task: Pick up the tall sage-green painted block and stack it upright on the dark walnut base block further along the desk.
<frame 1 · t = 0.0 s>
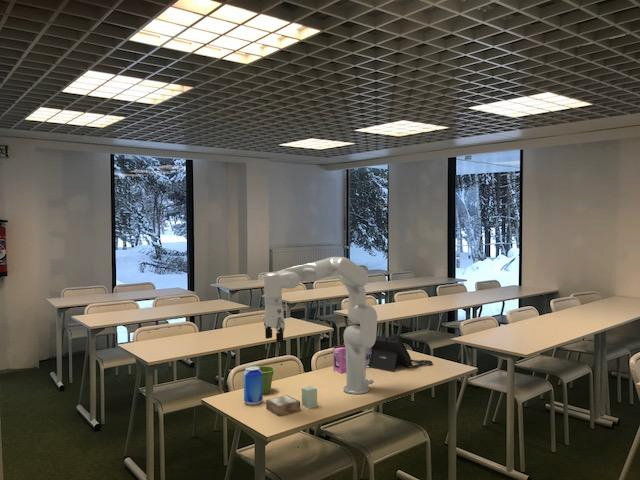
hand: (274, 340, 225), 31 cm above the table, fingers open, 9 cm apart
green block: (309, 405, 231), on the table
office phone: (400, 365, 294), on the table, touching gum box
gum box: (352, 368, 290), on the table, touching office phone
beer can: (253, 402, 237), on the table
plant pot: (263, 392, 252), on the table
base block: (283, 409, 226), on the table
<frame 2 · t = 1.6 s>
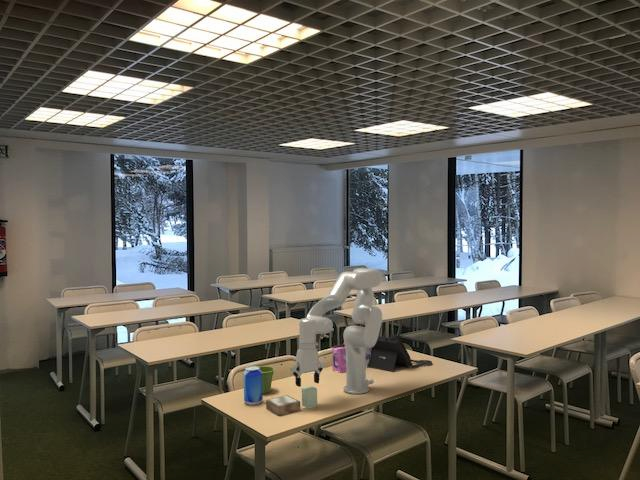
hand: (307, 384, 230), 10 cm above the table, fingers open, 9 cm apart
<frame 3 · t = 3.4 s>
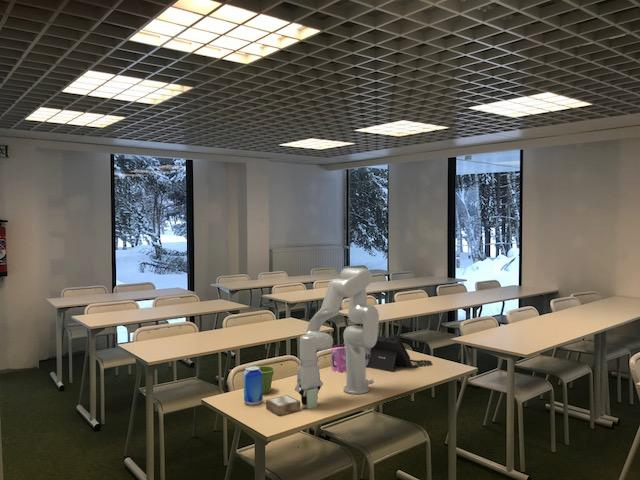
hand: (309, 402, 231), 1 cm above the table, fingers closed on green block, 5 cm apart
green block: (309, 405, 231), on the table, touching gripper
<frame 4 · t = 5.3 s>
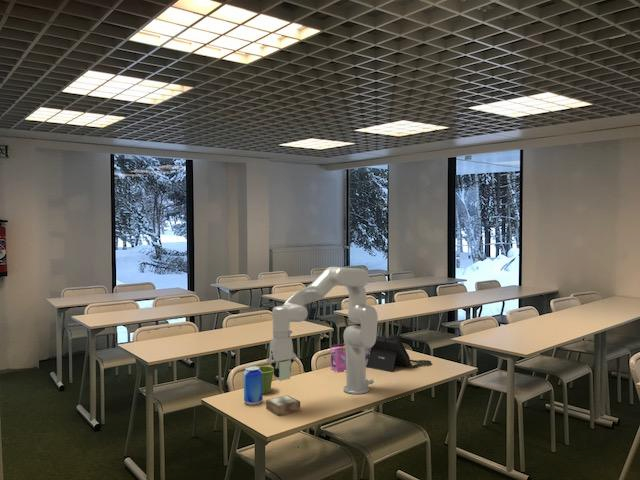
hand: (282, 375, 226), 15 cm above the table, fingers closed on green block, 5 cm apart
green block: (282, 378, 226), point 14 cm above the table, touching gripper
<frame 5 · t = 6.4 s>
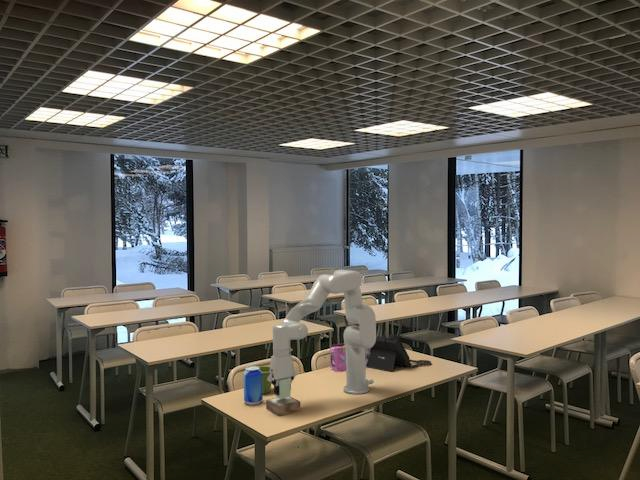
hand: (282, 392, 226), 7 cm above the table, fingers closed on green block, 5 cm apart
green block: (282, 396, 226), point 6 cm above the table, touching gripper
when the fingers open (7 cm above the table, at t = 7.3 s): green block drops 1 cm, resting on base block.
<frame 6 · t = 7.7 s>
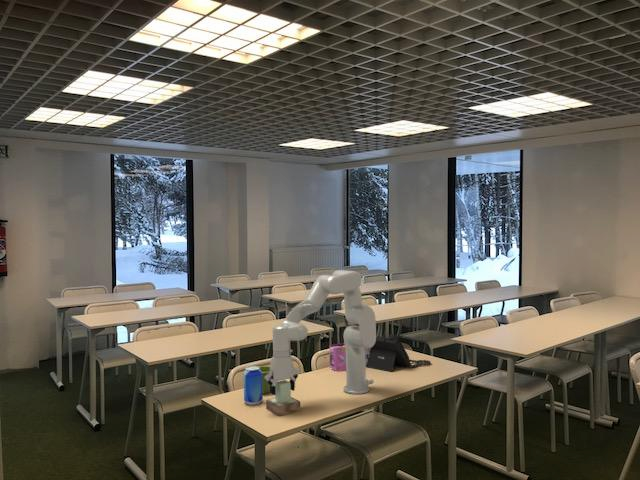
hand: (282, 392, 226), 8 cm above the table, fingers open, 9 cm apart
green block: (283, 400, 226), point 4 cm above the table, touching base block
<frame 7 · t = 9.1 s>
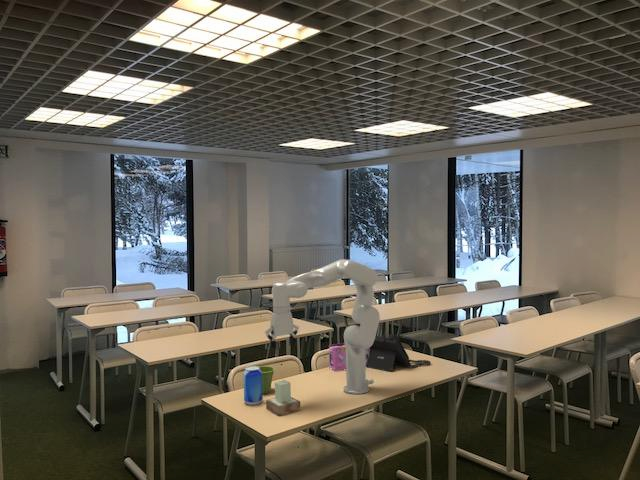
hand: (282, 347, 233), 26 cm above the table, fingers open, 9 cm apart
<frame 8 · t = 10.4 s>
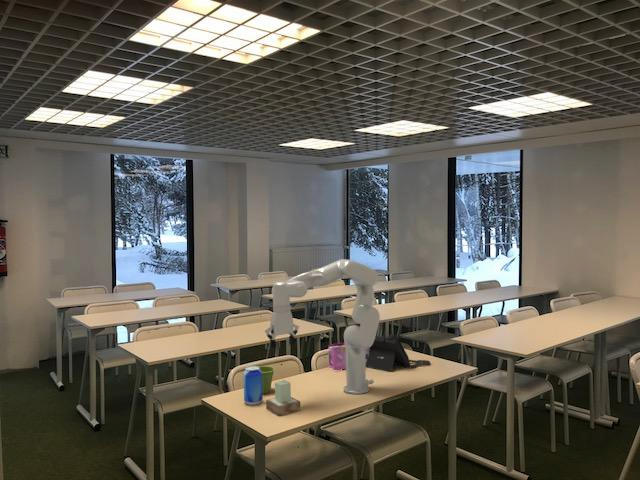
hand: (282, 346, 233), 26 cm above the table, fingers open, 9 cm apart
at the end: green block inside the target area on the base block (0.0 cm from its centre), point 4.1 cm above the base block's base; green block tilted 0°; the gripper is holding nothing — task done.
